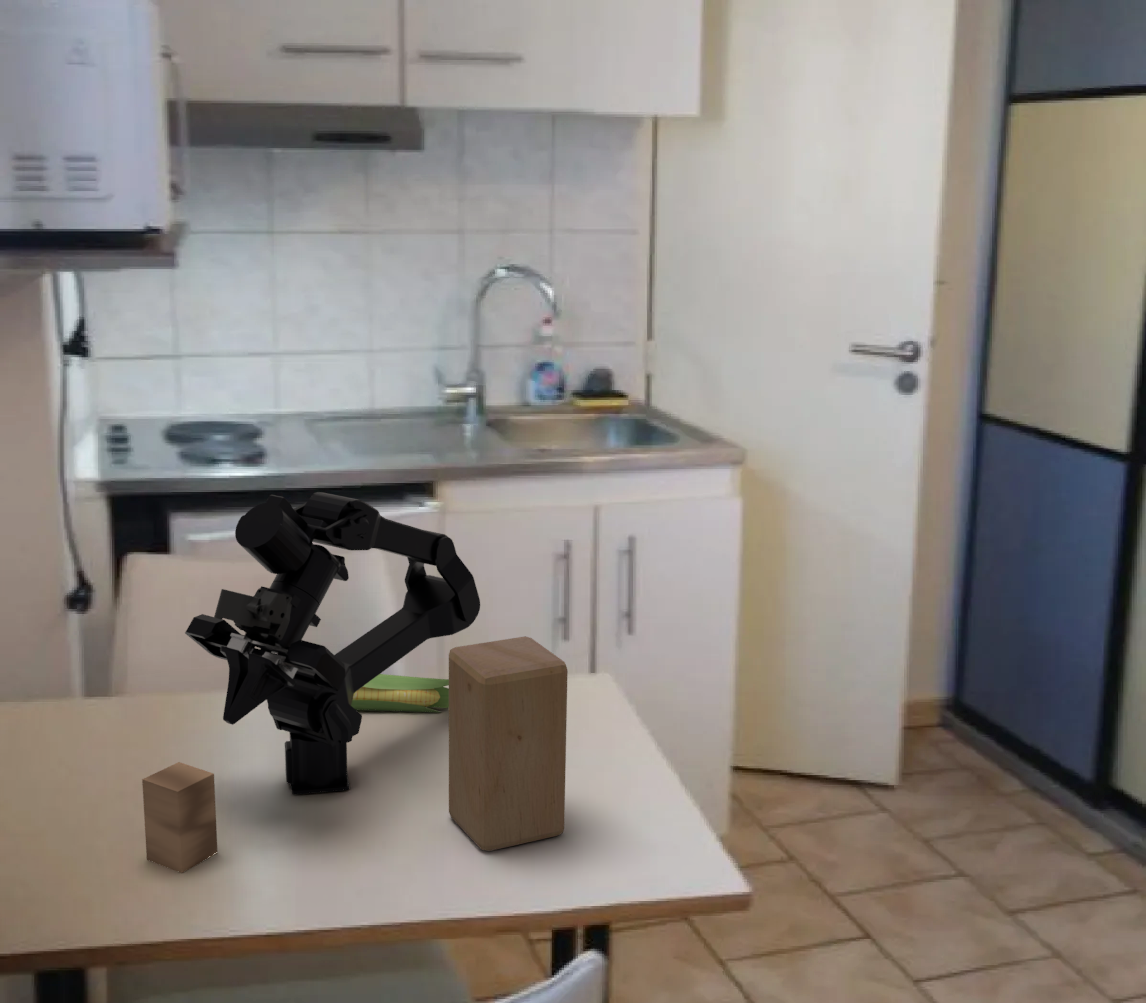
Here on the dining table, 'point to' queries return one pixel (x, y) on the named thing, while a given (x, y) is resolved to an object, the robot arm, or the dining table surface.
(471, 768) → the wooden block
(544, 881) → the dining table surface
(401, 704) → the edible corn
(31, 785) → the dining table surface
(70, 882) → the dining table surface
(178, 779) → the walnut block
